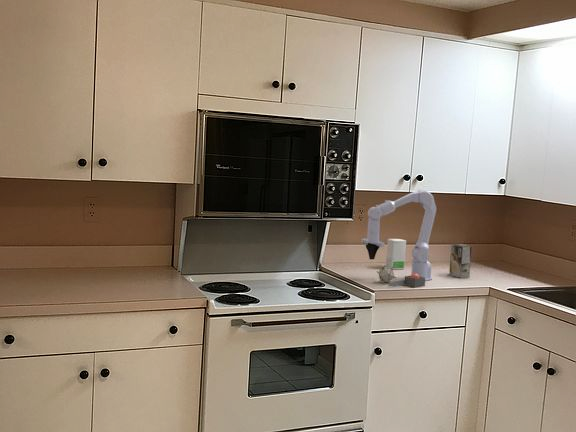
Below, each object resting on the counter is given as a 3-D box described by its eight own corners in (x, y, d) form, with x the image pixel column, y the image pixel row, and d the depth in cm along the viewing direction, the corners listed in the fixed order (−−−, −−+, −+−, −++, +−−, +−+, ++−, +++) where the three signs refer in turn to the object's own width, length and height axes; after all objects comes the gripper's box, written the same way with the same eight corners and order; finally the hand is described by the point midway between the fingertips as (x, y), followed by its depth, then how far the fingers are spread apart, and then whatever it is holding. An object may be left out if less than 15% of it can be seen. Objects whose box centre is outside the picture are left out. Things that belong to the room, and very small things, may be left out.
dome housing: (414, 283, 313) (414, 274, 313) (424, 286, 308) (425, 277, 307) (404, 284, 309) (404, 276, 309) (414, 287, 304) (415, 279, 303)
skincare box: (391, 269, 343) (393, 240, 341) (385, 267, 349) (386, 238, 347) (405, 269, 346) (406, 240, 344) (398, 266, 352) (400, 238, 350)
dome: (414, 282, 312) (415, 271, 311) (422, 284, 308) (422, 273, 307) (407, 283, 309) (407, 272, 308) (414, 285, 305) (415, 274, 304)
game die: (384, 291, 310) (376, 276, 305) (379, 281, 318) (371, 266, 313) (401, 283, 310) (393, 267, 305) (395, 273, 317) (388, 258, 312)
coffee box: (470, 277, 332) (472, 246, 330) (460, 278, 329) (462, 246, 327) (457, 273, 340) (460, 243, 338) (448, 274, 337) (450, 243, 335)
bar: (402, 284, 309) (402, 279, 309) (404, 284, 308) (404, 279, 308) (388, 286, 304) (389, 281, 304) (390, 286, 303) (391, 281, 303)
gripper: (357, 230, 322) (355, 257, 323) (377, 234, 310) (376, 262, 312) (367, 229, 326) (366, 256, 328) (388, 233, 314) (386, 261, 316)
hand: (371, 259), depth 320 cm, fingers closed
